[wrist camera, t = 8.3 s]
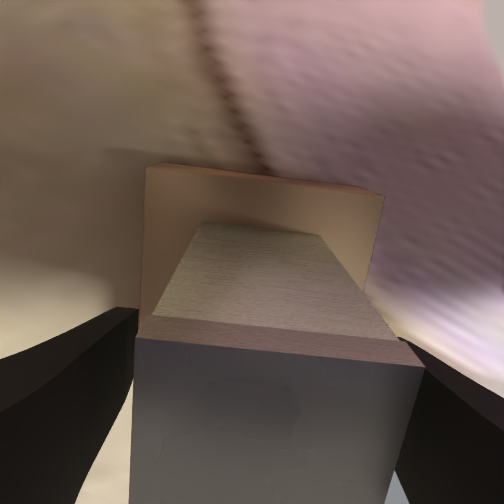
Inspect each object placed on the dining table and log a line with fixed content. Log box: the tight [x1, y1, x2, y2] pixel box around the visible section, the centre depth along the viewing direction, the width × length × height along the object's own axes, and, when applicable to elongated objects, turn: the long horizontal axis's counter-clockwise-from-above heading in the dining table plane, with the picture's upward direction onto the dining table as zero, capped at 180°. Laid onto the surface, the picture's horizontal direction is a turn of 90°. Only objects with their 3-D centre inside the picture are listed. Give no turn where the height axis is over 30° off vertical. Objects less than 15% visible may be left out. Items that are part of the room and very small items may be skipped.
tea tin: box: [129, 221, 425, 504], centre depth 11 cm, size 5×5×9 cm
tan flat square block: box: [139, 162, 385, 330], centre depth 17 cm, size 9×9×3 cm
